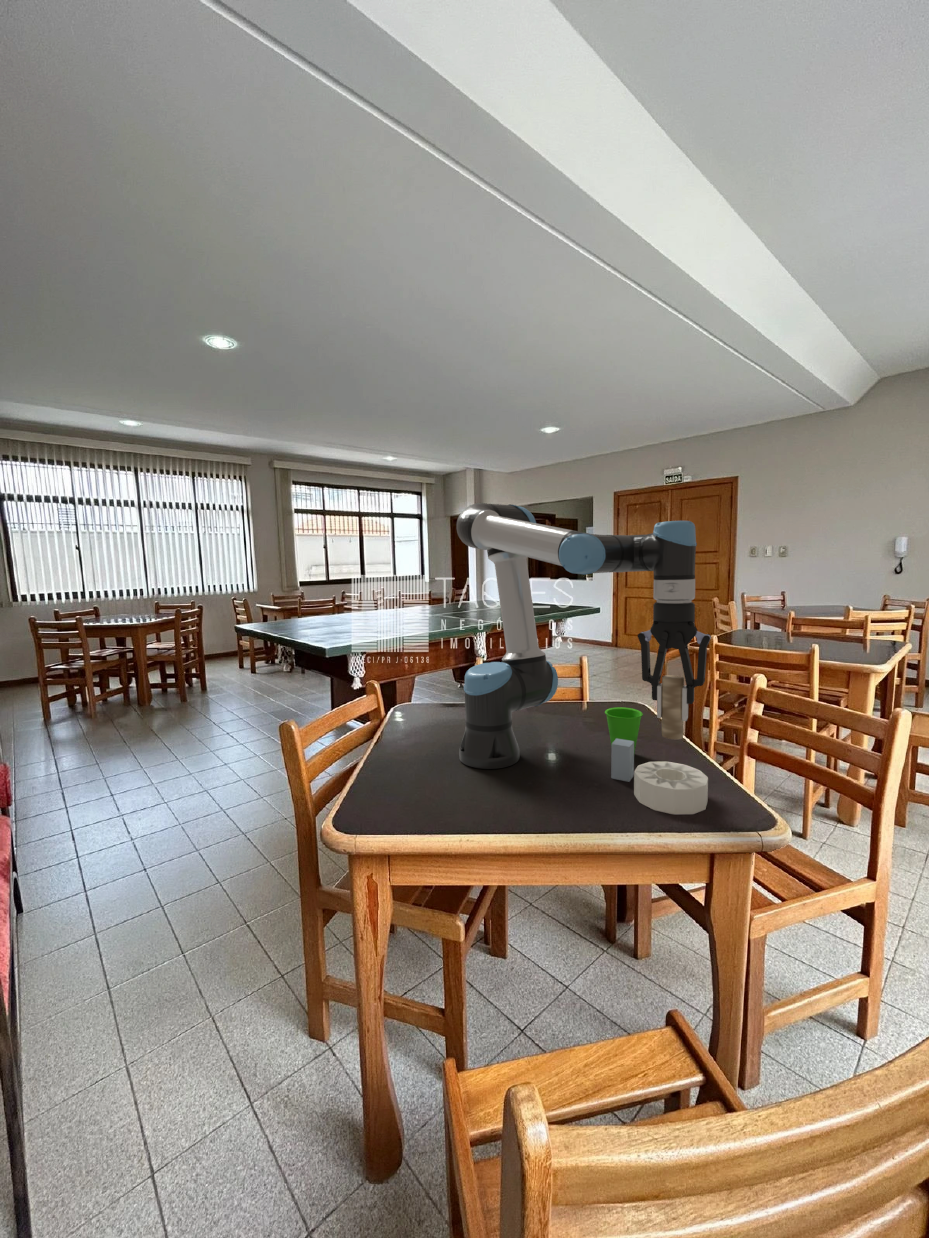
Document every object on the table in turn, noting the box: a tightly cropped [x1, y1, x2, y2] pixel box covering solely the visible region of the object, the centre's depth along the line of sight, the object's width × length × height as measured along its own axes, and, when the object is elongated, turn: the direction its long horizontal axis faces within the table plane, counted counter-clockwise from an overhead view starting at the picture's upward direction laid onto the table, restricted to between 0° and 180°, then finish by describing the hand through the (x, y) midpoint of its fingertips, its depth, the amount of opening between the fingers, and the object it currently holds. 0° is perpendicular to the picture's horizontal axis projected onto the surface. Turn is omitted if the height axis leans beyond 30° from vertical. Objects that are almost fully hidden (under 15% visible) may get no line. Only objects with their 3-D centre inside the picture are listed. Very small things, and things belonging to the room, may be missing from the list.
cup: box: [604, 706, 644, 755], centre depth 125 cm, size 9×9×11 cm
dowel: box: [661, 674, 685, 740], centre depth 100 cm, size 4×4×12 cm
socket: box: [633, 761, 709, 815], centre depth 102 cm, size 14×14×5 cm
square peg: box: [610, 738, 635, 783], centre depth 113 cm, size 4×4×8 cm
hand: (672, 717), depth 101 cm, fingers closed on dowel, 4 cm apart
